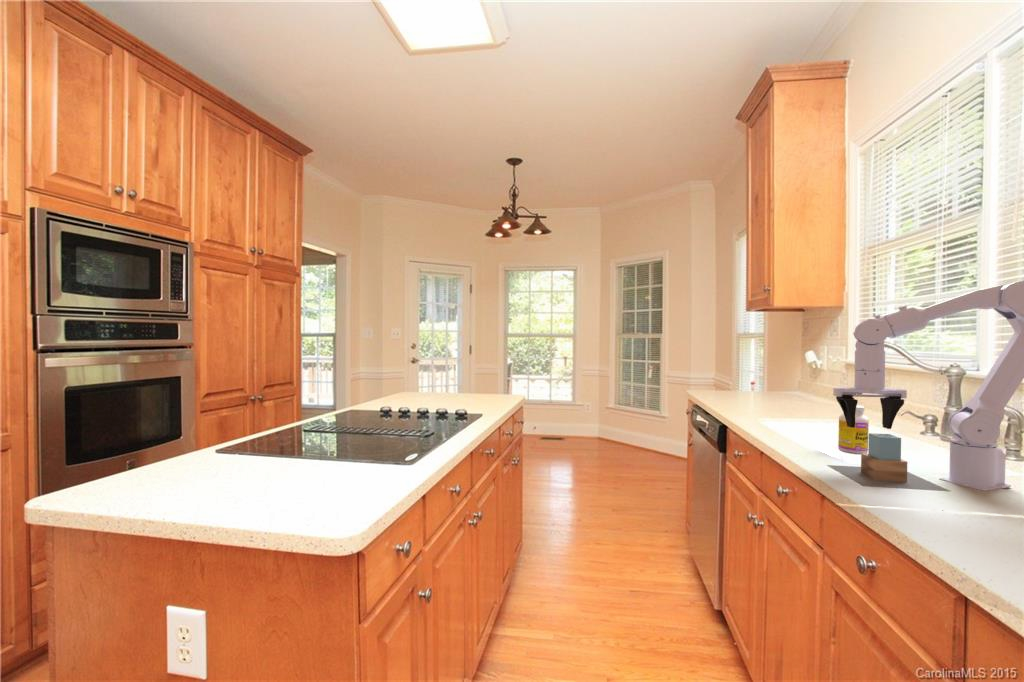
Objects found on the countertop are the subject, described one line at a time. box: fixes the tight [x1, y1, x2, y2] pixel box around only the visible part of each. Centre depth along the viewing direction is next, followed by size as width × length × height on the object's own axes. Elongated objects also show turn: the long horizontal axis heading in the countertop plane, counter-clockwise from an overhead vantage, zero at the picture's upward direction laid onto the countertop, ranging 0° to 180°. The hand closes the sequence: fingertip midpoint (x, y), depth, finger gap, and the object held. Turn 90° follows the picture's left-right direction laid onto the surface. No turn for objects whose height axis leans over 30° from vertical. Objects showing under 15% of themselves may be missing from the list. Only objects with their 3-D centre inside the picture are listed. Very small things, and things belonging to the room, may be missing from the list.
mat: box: [826, 464, 951, 492], centre depth 104 cm, size 16×16×1 cm
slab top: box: [860, 453, 908, 472], centre depth 104 cm, size 6×6×2 cm
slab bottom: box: [860, 462, 908, 482], centre depth 104 cm, size 6×6×2 cm
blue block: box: [867, 432, 902, 461], centre depth 104 cm, size 4×4×5 cm
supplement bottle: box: [837, 404, 870, 456], centre depth 128 cm, size 7×7×13 cm
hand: (868, 427), depth 110 cm, fingers open, 7 cm apart
